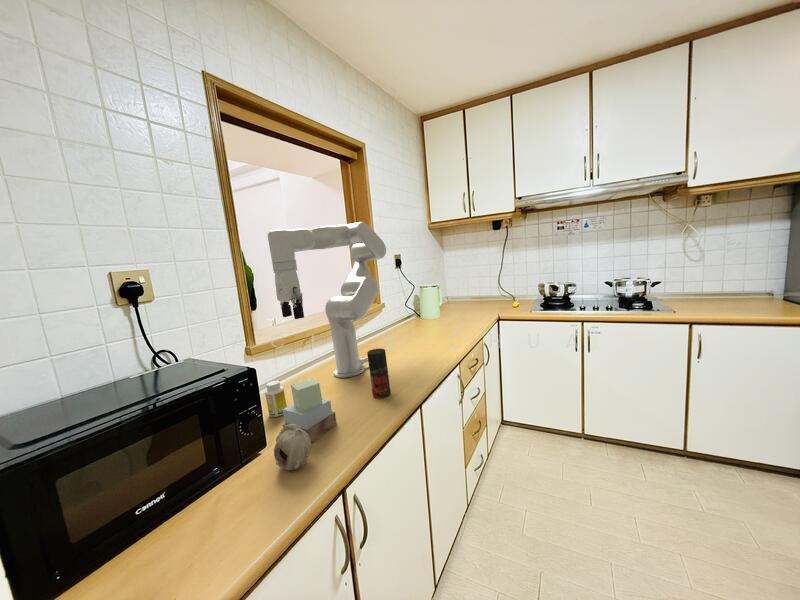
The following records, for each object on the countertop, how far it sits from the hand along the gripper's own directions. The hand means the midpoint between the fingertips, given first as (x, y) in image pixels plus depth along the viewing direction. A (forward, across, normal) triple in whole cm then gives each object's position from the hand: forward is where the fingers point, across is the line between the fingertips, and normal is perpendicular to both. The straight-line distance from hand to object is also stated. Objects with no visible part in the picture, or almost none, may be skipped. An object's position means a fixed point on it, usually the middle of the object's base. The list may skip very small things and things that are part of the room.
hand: (293, 317), depth 111 cm
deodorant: (+28, +23, +16) cm, 40 cm away
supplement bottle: (+28, +5, -12) cm, 31 cm away
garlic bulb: (+28, +36, -20) cm, 50 cm away
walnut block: (+29, +24, -10) cm, 39 cm away
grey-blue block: (+25, +24, -10) cm, 36 cm away
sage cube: (+21, +24, -10) cm, 33 cm away
